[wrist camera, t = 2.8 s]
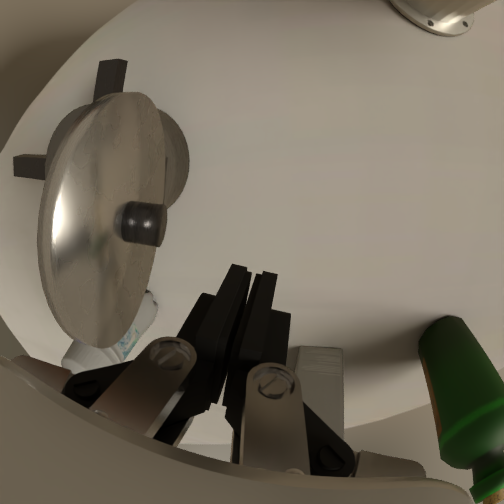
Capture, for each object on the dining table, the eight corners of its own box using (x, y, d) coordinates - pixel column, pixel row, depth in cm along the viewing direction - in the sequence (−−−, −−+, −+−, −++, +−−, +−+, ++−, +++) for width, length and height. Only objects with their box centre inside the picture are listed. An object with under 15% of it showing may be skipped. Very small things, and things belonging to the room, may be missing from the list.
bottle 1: (127, 312, 41) (55, 402, 23) (121, 276, 38) (33, 366, 20) (164, 322, 41) (98, 426, 23) (161, 285, 38) (78, 392, 20)
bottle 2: (403, 364, 37) (432, 531, 12) (421, 310, 32) (486, 504, 7) (456, 358, 35) (502, 501, 10) (478, 305, 30) (558, 460, 5)
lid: (30, 85, 5) (106, 73, 6) (162, 99, 18) (200, 101, 19) (81, 395, 12) (131, 410, 12) (150, 266, 25) (181, 271, 25)
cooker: (60, 80, 27) (12, 80, 19) (213, 70, 25) (178, 50, 17) (57, 225, 37) (17, 249, 29) (189, 261, 35) (157, 301, 27)
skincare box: (333, 382, 40) (333, 469, 26) (288, 379, 41) (277, 467, 27) (344, 345, 37) (352, 443, 22) (294, 342, 38) (283, 441, 24)
